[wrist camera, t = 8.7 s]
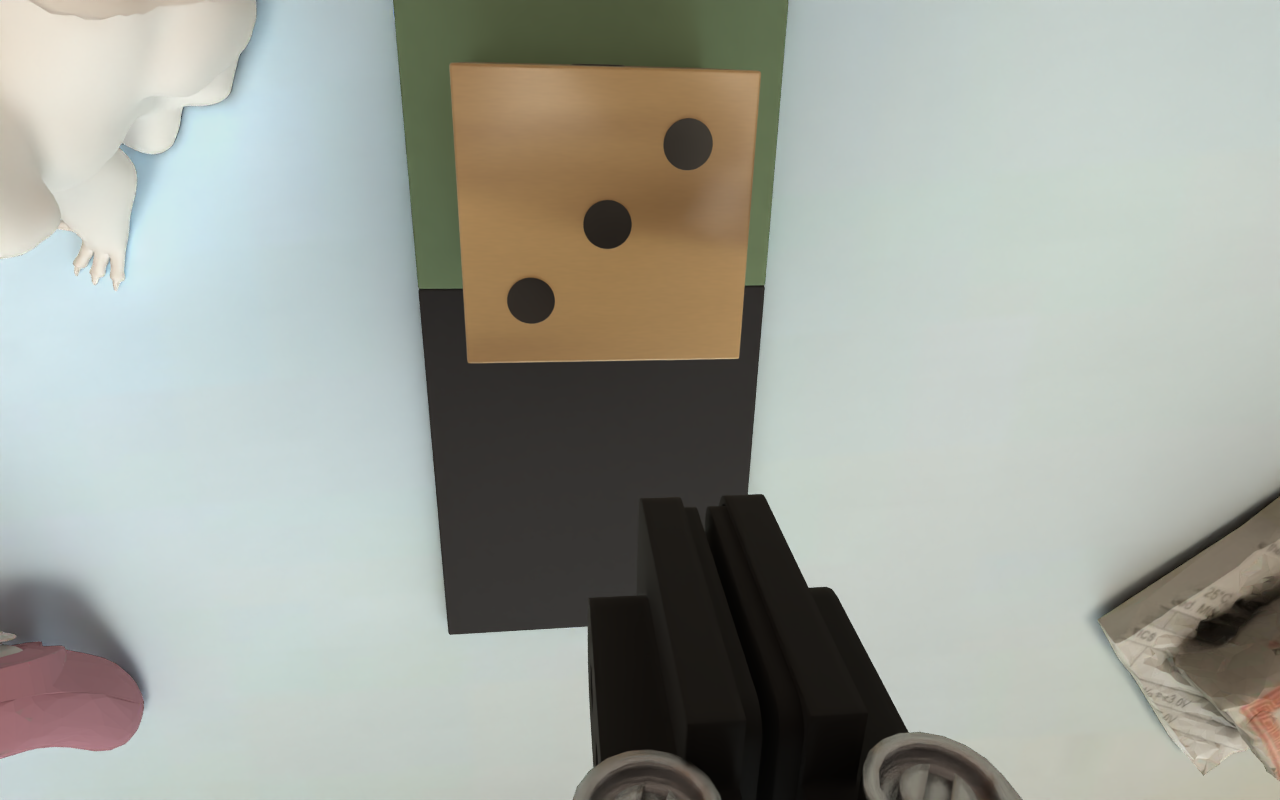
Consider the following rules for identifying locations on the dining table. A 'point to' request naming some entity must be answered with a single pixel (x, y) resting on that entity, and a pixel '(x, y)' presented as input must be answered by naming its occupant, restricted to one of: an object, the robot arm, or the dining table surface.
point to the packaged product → (1212, 646)
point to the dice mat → (570, 391)
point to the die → (603, 209)
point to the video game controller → (63, 699)
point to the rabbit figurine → (100, 108)
